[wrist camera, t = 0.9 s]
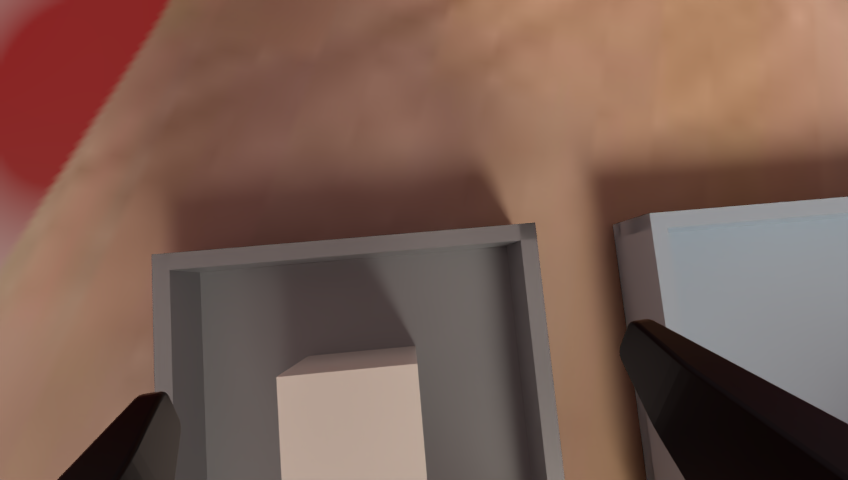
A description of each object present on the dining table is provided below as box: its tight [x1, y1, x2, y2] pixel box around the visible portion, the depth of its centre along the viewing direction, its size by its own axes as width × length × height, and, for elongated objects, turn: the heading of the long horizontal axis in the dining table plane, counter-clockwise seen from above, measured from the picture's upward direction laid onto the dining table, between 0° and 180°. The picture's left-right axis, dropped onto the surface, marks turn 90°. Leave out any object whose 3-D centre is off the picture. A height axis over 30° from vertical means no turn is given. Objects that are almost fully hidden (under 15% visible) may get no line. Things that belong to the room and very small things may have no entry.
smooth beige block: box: [276, 346, 427, 480], centre depth 18 cm, size 5×5×5 cm
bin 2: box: [613, 197, 848, 480], centre depth 20 cm, size 15×16×4 cm
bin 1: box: [152, 223, 565, 480], centre depth 20 cm, size 15×16×4 cm
